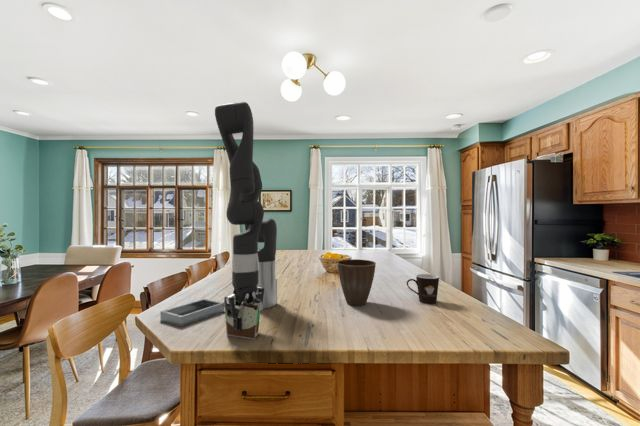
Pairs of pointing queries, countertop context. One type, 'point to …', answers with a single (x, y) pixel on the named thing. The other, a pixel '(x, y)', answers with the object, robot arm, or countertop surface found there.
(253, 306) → the food container
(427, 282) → the coffee mug
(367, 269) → the plant pot
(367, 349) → the countertop surface
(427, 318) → the countertop surface
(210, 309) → the collar
